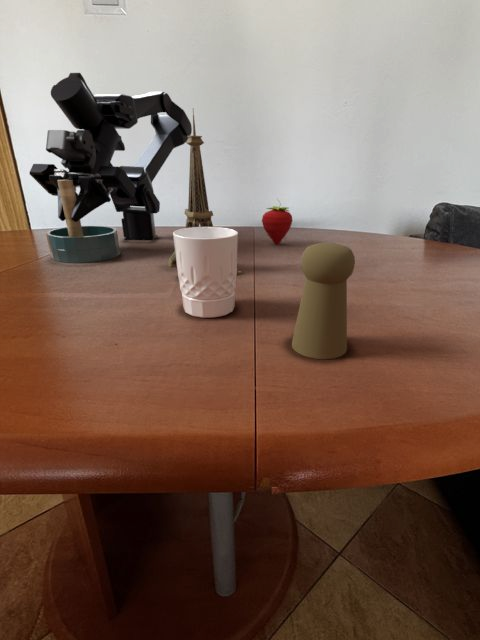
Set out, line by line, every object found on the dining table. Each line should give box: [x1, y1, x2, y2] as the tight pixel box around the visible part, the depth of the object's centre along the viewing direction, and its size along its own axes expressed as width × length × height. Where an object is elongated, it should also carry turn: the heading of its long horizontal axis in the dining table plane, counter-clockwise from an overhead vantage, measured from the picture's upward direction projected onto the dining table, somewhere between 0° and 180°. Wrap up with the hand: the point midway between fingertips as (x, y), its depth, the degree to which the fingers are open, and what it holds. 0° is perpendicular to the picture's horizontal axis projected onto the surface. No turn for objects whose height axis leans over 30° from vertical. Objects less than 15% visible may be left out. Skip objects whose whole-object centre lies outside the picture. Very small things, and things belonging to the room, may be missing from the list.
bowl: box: [45, 225, 121, 264], centre depth 72 cm, size 12×12×5 cm
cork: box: [291, 242, 356, 360], centre depth 39 cm, size 6×6×11 cm
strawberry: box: [261, 199, 293, 245], centre depth 86 cm, size 6×8×10 cm
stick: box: [57, 180, 83, 237], centre depth 68 cm, size 4×4×13 cm
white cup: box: [172, 226, 239, 319], centre depth 48 cm, size 8×8×10 cm
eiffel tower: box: [165, 109, 243, 279], centre depth 62 cm, size 11×11×25 cm
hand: (67, 219), depth 67 cm, fingers closed on stick, 2 cm apart
